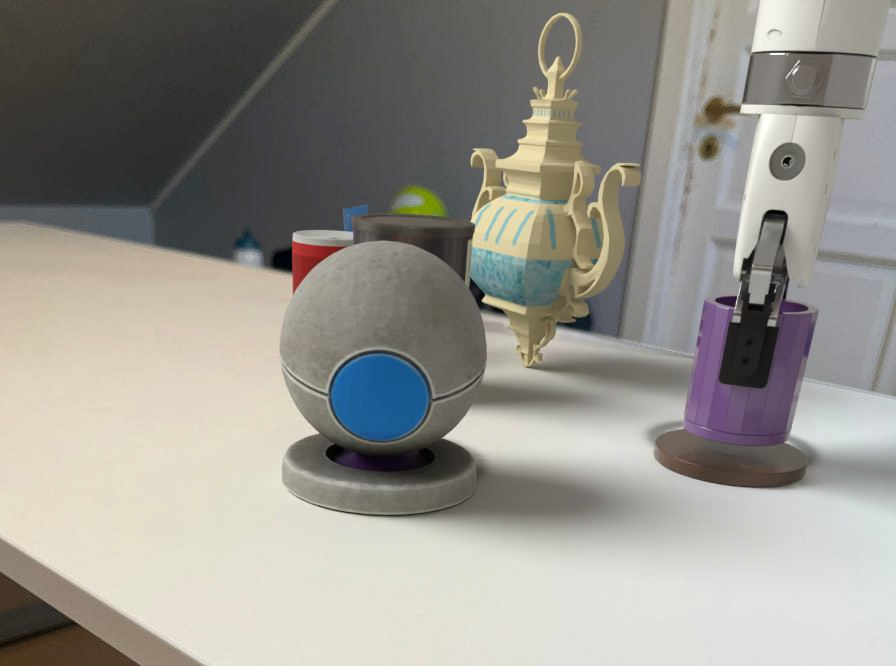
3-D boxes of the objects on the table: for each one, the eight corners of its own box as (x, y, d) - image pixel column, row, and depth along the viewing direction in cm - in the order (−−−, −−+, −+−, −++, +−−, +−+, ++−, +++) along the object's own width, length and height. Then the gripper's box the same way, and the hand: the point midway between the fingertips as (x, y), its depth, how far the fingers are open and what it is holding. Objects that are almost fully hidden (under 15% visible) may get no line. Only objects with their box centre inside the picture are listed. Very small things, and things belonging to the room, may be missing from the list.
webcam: (471, 456, 71) (488, 235, 64) (481, 520, 60) (504, 261, 53) (293, 448, 71) (290, 225, 64) (270, 511, 59) (263, 249, 52)
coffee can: (434, 410, 81) (444, 229, 75) (327, 391, 85) (328, 217, 78) (481, 386, 90) (494, 220, 83) (382, 369, 93) (387, 210, 87)
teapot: (651, 390, 91) (713, 11, 77) (552, 401, 86) (598, -3, 72) (508, 339, 109) (536, 24, 95) (419, 345, 104) (435, 13, 90)
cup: (792, 425, 74) (820, 301, 69) (785, 452, 67) (817, 318, 63) (690, 411, 76) (712, 290, 72) (675, 436, 70) (698, 305, 65)
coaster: (808, 454, 76) (811, 441, 75) (801, 497, 66) (805, 483, 66) (666, 432, 79) (668, 420, 78) (641, 471, 70) (643, 457, 69)
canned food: (341, 361, 96) (342, 241, 91) (277, 348, 99) (275, 232, 94) (383, 348, 102) (387, 235, 96) (322, 337, 105) (322, 228, 100)
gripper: (870, 88, 53) (796, 408, 61) (868, 98, 67) (808, 356, 76) (729, 83, 55) (676, 392, 64) (756, 93, 70) (709, 344, 78)
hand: (748, 371), depth 70 cm, fingers closed on cup, 7 cm apart
